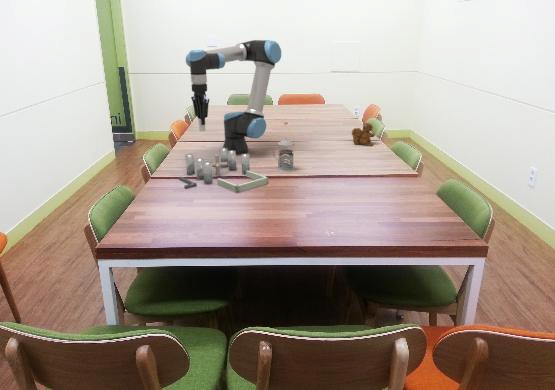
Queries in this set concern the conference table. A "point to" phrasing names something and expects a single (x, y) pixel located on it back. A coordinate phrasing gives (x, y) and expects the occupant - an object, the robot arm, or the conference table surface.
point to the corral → (257, 182)
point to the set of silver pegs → (206, 167)
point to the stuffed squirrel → (363, 135)
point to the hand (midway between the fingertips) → (202, 130)
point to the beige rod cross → (218, 164)
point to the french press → (285, 157)
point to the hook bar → (190, 183)
